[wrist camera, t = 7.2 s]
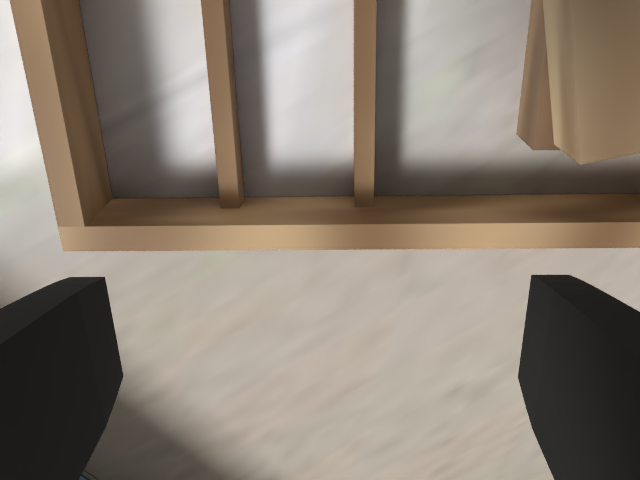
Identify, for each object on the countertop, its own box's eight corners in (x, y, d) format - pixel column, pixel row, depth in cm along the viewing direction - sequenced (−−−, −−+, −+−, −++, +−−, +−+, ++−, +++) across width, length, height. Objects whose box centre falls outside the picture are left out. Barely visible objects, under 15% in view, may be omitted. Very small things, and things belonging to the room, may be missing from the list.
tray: (768, -144, 16) (836, -162, 14) (683, 216, 20) (726, 247, 18) (29, -121, 17) (-19, -134, 14) (92, 221, 21) (63, 251, 18)
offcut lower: (677, -46, 17) (721, -48, 15) (642, 130, 19) (677, 149, 17) (532, -43, 17) (557, -45, 15) (513, 131, 19) (533, 150, 17)
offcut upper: (680, -47, 15) (727, -49, 13) (679, 118, 17) (721, 135, 15) (541, -14, 16) (569, -12, 14) (554, 144, 17) (580, 164, 15)
